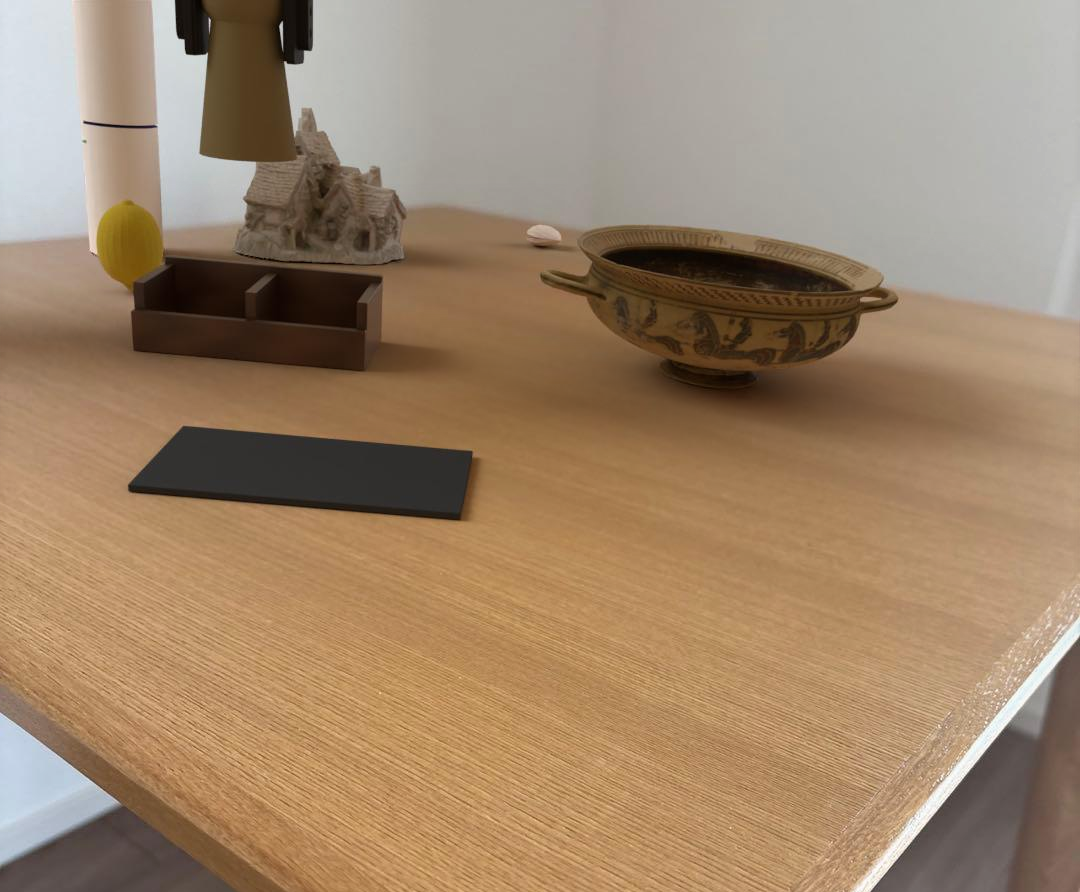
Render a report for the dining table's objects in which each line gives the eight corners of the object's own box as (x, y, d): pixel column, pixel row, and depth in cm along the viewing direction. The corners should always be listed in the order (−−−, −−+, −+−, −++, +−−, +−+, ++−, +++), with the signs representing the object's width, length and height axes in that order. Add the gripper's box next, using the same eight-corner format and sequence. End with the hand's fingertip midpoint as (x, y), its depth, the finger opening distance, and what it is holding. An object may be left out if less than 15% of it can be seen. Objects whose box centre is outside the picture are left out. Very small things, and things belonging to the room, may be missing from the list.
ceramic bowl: (562, 418, 79) (577, 275, 75) (506, 330, 100) (515, 215, 96) (949, 427, 85) (982, 295, 81) (819, 343, 107) (840, 235, 103)
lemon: (139, 301, 98) (134, 206, 95) (86, 291, 100) (79, 198, 97) (177, 290, 103) (173, 200, 100) (126, 281, 105) (120, 192, 101)
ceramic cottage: (212, 245, 122) (218, 98, 116) (321, 238, 135) (332, 105, 129) (315, 281, 115) (328, 127, 109) (420, 270, 128) (436, 132, 122)
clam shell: (544, 242, 144) (546, 222, 143) (571, 250, 141) (573, 229, 140) (519, 244, 141) (521, 223, 140) (546, 251, 138) (548, 230, 137)
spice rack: (132, 350, 85) (128, 277, 83) (170, 322, 93) (167, 254, 91) (364, 371, 85) (366, 298, 83) (381, 340, 94) (383, 274, 91)
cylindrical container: (121, 262, 112) (103, -18, 101) (74, 250, 115) (53, -23, 105) (178, 255, 117) (167, -12, 107) (132, 243, 121) (117, -17, 110)
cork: (264, 164, 68) (260, -39, 64) (179, 153, 70) (169, -46, 65) (314, 157, 74) (314, -31, 69) (234, 147, 75) (228, -37, 71)
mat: (127, 491, 61) (127, 484, 61) (183, 431, 70) (183, 425, 70) (460, 519, 61) (460, 513, 61) (472, 456, 71) (472, 450, 70)
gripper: (401, -267, 66) (392, 70, 73) (104, -298, 65) (125, 45, 72) (386, -301, 59) (377, 74, 66) (54, -336, 58) (82, 47, 66)
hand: (245, 55), depth 69 cm, fingers closed on cork, 5 cm apart
